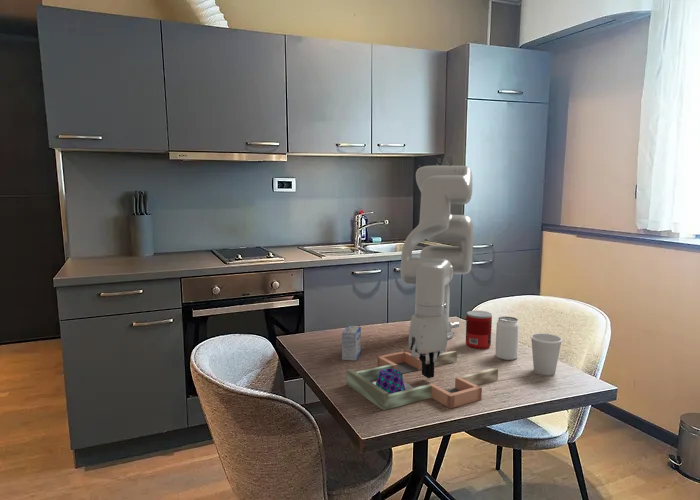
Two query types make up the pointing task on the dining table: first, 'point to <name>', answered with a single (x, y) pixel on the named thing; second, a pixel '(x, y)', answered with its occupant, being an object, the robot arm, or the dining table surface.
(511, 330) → the can
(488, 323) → the canned food
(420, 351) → the robot arm
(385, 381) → the pudding
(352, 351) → the medicine box
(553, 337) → the dixie cup
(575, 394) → the dining table surface
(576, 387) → the dining table surface
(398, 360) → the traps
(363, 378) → the track
